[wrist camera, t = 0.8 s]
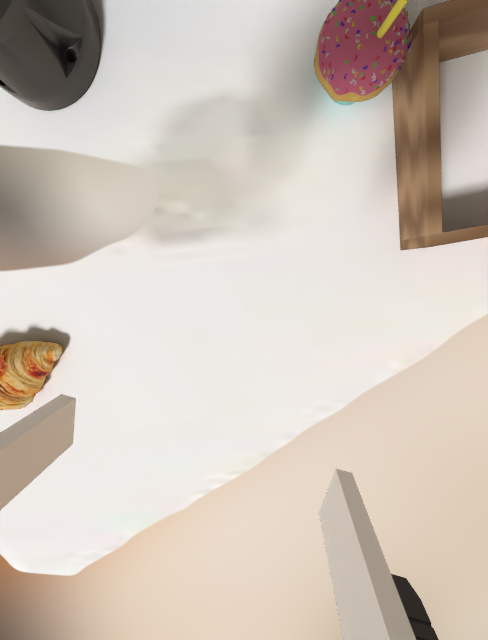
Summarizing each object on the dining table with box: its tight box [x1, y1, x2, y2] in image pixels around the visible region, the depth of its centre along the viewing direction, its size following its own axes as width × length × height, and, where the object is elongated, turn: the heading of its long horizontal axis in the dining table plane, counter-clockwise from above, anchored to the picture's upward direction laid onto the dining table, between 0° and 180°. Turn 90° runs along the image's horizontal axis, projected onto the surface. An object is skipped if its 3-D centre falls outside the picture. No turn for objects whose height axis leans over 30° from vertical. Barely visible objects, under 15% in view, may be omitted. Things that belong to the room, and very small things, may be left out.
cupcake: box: [314, 0, 412, 105], centre depth 23 cm, size 9×8×12 cm
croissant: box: [0, 341, 62, 410], centre depth 39 cm, size 21×10×8 cm, turn 121°
